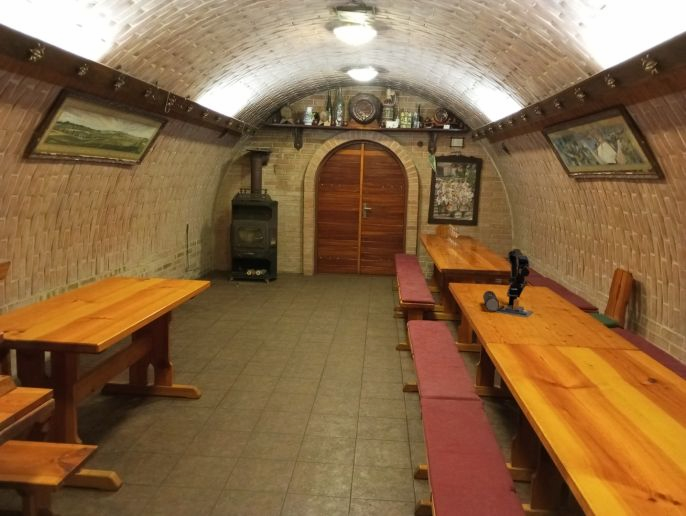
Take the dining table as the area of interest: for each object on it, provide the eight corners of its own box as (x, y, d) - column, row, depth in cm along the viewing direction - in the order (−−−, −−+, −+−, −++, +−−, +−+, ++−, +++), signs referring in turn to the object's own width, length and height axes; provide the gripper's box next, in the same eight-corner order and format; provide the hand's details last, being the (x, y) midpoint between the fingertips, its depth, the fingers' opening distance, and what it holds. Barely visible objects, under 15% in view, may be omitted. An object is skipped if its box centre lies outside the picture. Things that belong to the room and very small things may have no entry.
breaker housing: (510, 308, 397) (510, 304, 397) (527, 310, 391) (527, 307, 390) (505, 311, 386) (505, 308, 386) (522, 314, 380) (523, 310, 379)
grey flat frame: (502, 306, 400) (502, 305, 400) (531, 311, 390) (531, 309, 389) (496, 310, 388) (496, 308, 388) (526, 315, 377) (526, 313, 377)
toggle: (514, 308, 394) (514, 299, 393) (518, 309, 392) (519, 299, 391) (512, 309, 392) (513, 299, 391) (517, 310, 390) (518, 300, 389)
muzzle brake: (495, 304, 413) (496, 290, 411) (499, 313, 385) (499, 298, 384) (482, 303, 414) (483, 290, 413) (484, 312, 387) (485, 297, 386)
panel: (502, 307, 402) (502, 306, 401) (533, 313, 390) (533, 311, 390) (495, 312, 388) (495, 310, 388) (527, 317, 377) (527, 315, 377)
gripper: (513, 270, 405) (511, 291, 408) (505, 274, 390) (503, 296, 392) (529, 272, 399) (527, 294, 402) (522, 276, 384) (519, 298, 386)
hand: (519, 295), depth 396 cm, fingers closed
